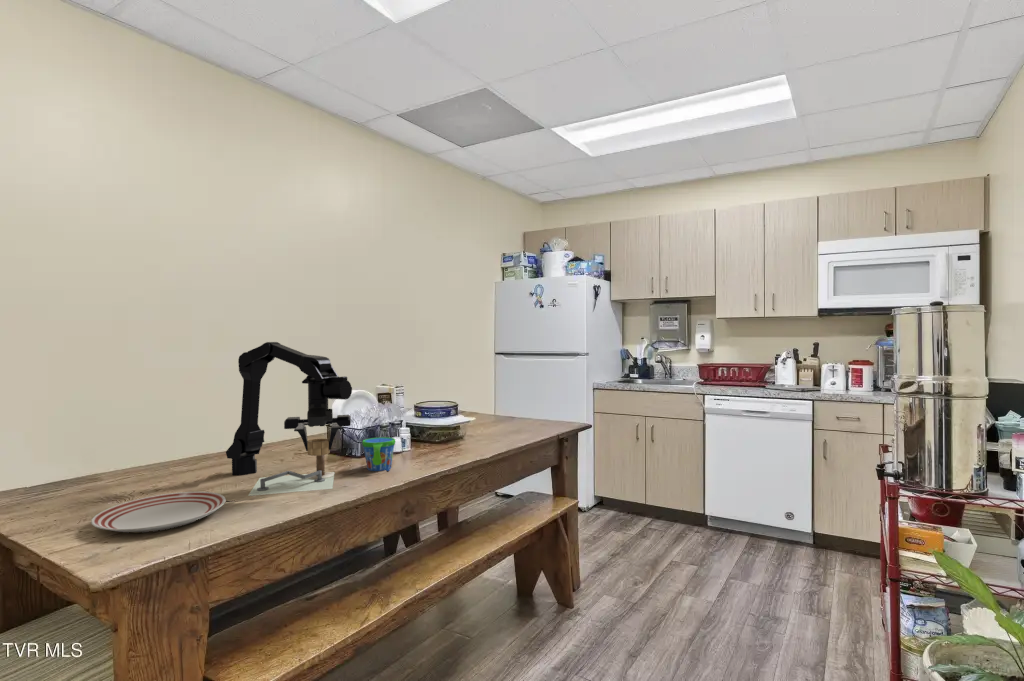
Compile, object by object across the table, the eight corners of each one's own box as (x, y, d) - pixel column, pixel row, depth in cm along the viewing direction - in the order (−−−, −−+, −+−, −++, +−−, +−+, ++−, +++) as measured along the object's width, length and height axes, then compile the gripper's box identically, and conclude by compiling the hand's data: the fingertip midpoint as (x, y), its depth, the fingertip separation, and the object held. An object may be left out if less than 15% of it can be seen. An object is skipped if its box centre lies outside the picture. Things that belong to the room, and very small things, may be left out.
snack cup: (368, 465, 190) (368, 435, 190) (399, 464, 190) (399, 435, 190) (357, 476, 174) (356, 444, 174) (391, 476, 175) (390, 443, 174)
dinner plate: (168, 543, 119) (168, 528, 119) (59, 538, 123) (59, 523, 123) (249, 505, 146) (249, 493, 146) (157, 502, 150) (157, 489, 150)
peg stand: (306, 480, 167) (305, 455, 167) (307, 474, 175) (307, 450, 175) (333, 478, 170) (333, 454, 170) (334, 472, 177) (334, 449, 177)
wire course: (247, 498, 151) (247, 484, 151) (259, 480, 172) (259, 468, 172) (332, 491, 158) (332, 478, 158) (334, 474, 178) (334, 462, 178)
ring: (303, 454, 167) (303, 440, 167) (320, 450, 172) (320, 437, 172) (316, 456, 163) (316, 442, 163) (333, 452, 168) (333, 439, 168)
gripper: (281, 402, 157) (282, 457, 157) (350, 400, 162) (350, 453, 162) (286, 398, 168) (286, 450, 168) (350, 396, 173) (350, 446, 173)
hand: (318, 450), depth 167 cm, fingers closed on ring, 6 cm apart
